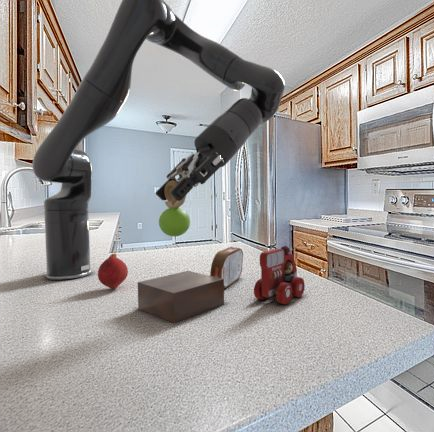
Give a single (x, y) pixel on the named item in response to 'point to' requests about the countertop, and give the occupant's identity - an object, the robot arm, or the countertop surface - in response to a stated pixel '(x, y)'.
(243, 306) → the countertop surface
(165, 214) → the green tan rounded piece
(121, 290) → the countertop surface
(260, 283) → the toy fire truck
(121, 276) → the onion
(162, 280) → the walnut block
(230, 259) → the tin
